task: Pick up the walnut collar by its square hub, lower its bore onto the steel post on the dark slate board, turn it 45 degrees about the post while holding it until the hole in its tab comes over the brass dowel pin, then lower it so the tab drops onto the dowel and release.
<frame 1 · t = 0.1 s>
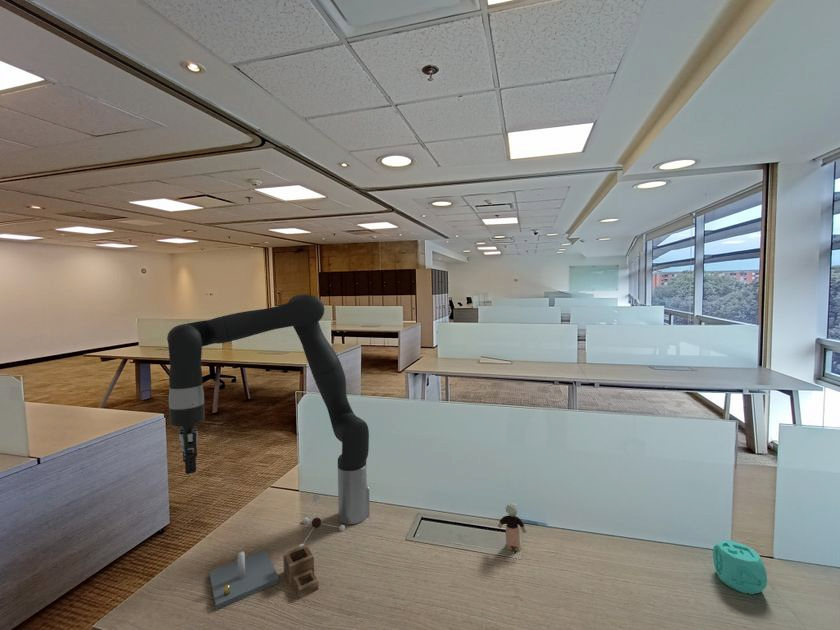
hand: (189, 466, 94), 29 cm above the table, fingers open, 8 cm apart
brass dowel: (227, 598, 88), resting on slate board
grandmother figurine: (511, 547, 106), on the table
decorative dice: (738, 582, 92), on the table
slate board: (243, 579, 94), on the table
molecular model: (323, 534, 113), on the table
flange collar: (305, 587, 92), on the table
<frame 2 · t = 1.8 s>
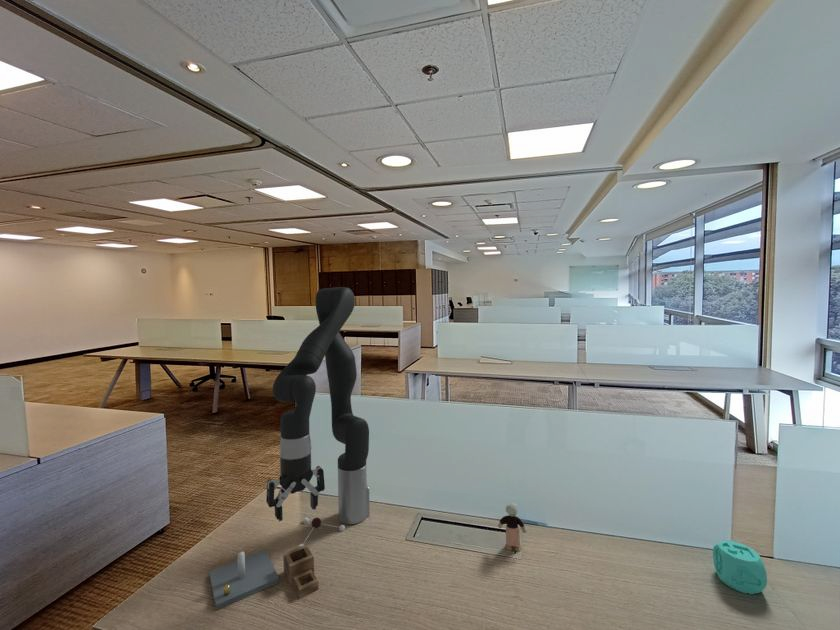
hand: (296, 513, 95), 16 cm above the table, fingers open, 8 cm apart
nothing on the table moved.
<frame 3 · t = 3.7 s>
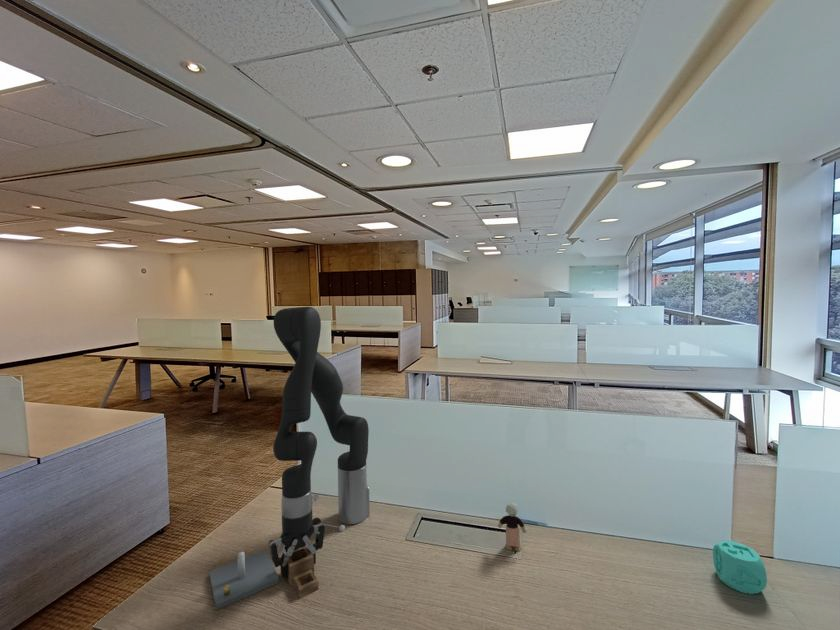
hand: (298, 571, 96), 1 cm above the table, fingers closed on flange collar, 6 cm apart
flange collar: (305, 586, 92), on the table, touching gripper
everything else where it was.
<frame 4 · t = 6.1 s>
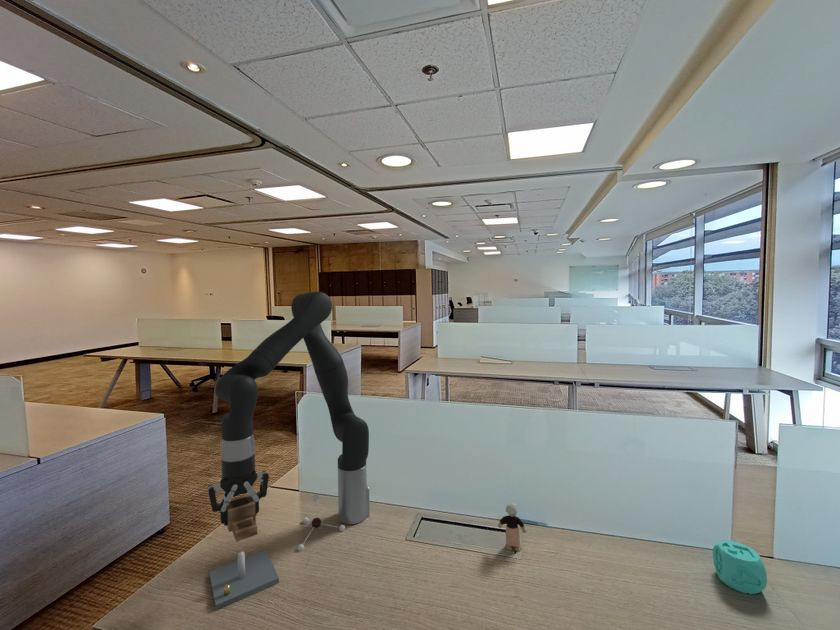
hand: (240, 519, 93), 16 cm above the table, fingers closed on flange collar, 6 cm apart
flange collar: (244, 532, 89), point 16 cm above the table, touching gripper
everything else where it was.
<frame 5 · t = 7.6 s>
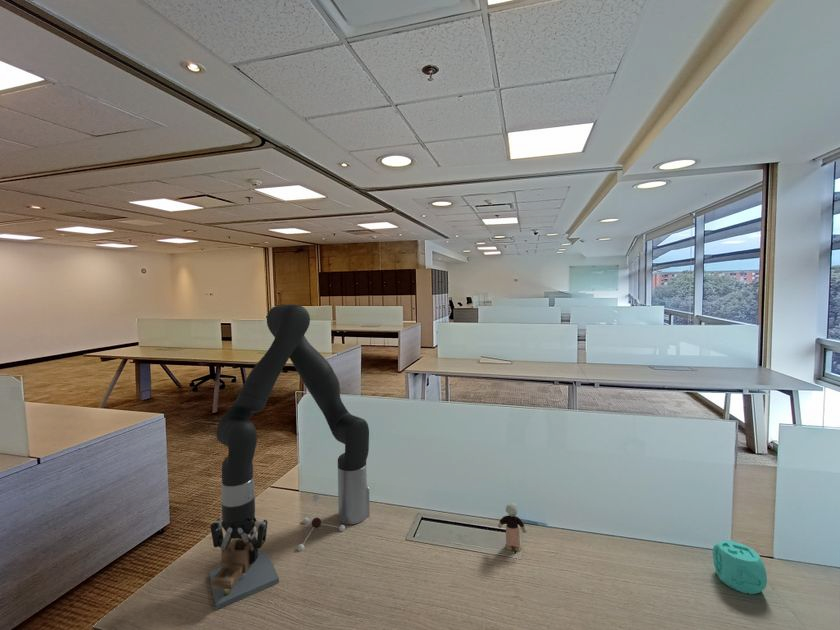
hand: (240, 561, 94), 5 cm above the table, fingers closed on flange collar, 6 cm apart
flange collar: (227, 580, 88), point 4 cm above the table, touching gripper
everything else where it was.
when the fingers open (3 cm above the table, at t = 8.9 s): flange collar stays where it is, resting on slate board.
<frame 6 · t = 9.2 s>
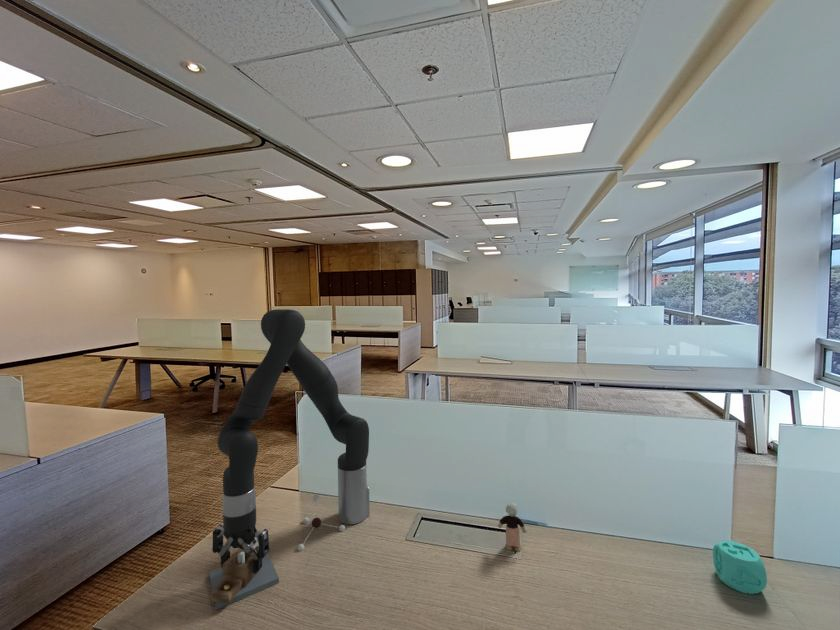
hand: (241, 569, 94), 3 cm above the table, fingers open, 8 cm apart
flange collar: (227, 593, 88), point 1 cm above the table, touching slate board
everything else where it was.
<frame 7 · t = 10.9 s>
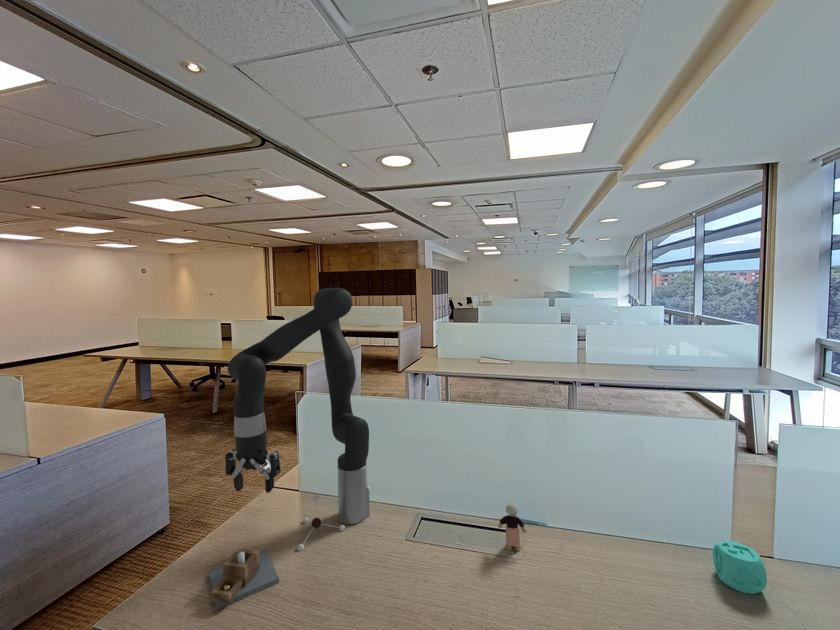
hand: (254, 490, 97), 21 cm above the table, fingers open, 8 cm apart
nothing on the table moved.
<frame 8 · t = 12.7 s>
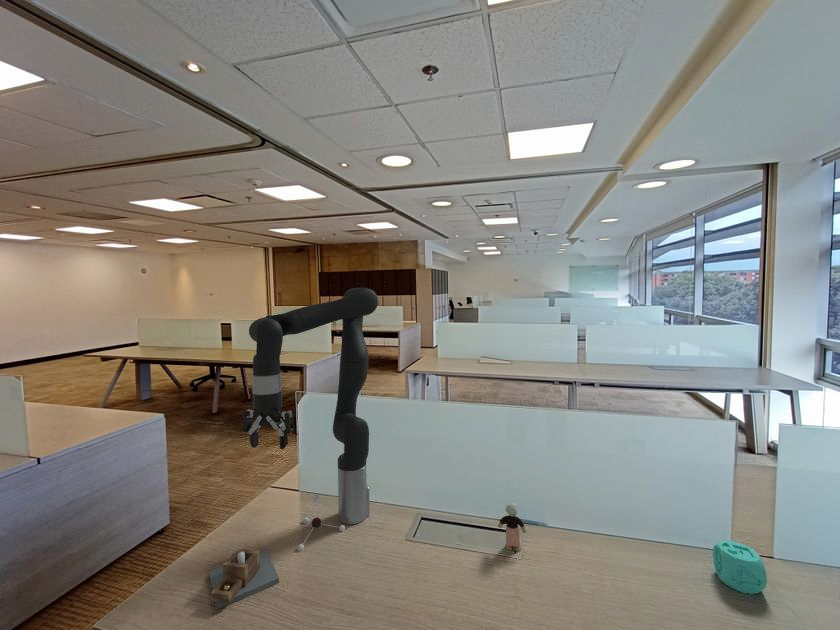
hand: (269, 447, 103), 30 cm above the table, fingers open, 8 cm apart
nothing on the table moved.
at the end: flange collar 0.1 cm from the target spot, point 1.2 cm above the table; flange collar tilted 0°; the gripper is holding nothing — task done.
